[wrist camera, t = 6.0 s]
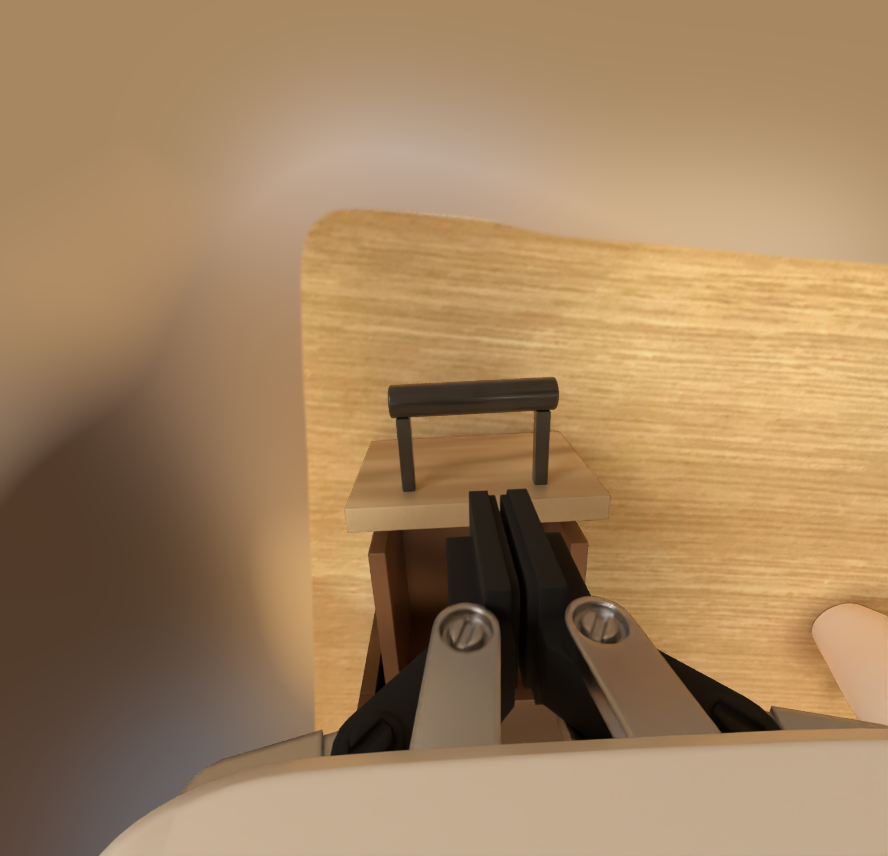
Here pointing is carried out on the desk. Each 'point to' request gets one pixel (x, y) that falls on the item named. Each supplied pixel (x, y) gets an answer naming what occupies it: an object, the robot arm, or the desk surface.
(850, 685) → the mug
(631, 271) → the desk surface
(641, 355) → the desk surface
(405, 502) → the drawer
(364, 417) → the desk surface
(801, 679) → the desk surface
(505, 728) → the cabinet
